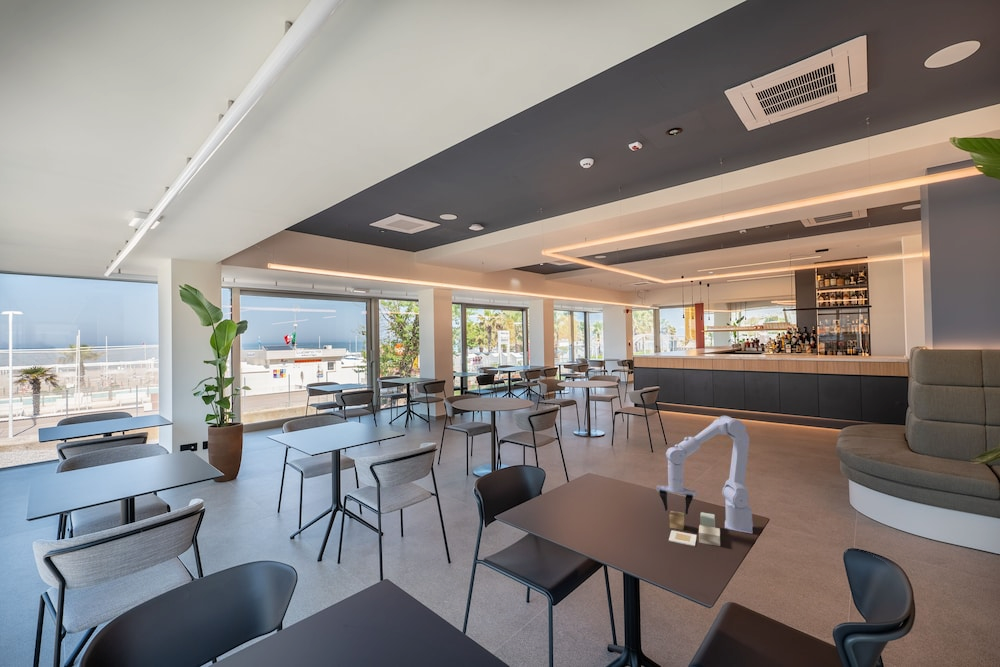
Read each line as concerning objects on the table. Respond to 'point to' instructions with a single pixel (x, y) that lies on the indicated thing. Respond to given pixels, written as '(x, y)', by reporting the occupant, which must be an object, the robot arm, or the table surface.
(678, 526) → the oak cube
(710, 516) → the sage cube
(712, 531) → the base block
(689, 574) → the table surface
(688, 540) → the card
